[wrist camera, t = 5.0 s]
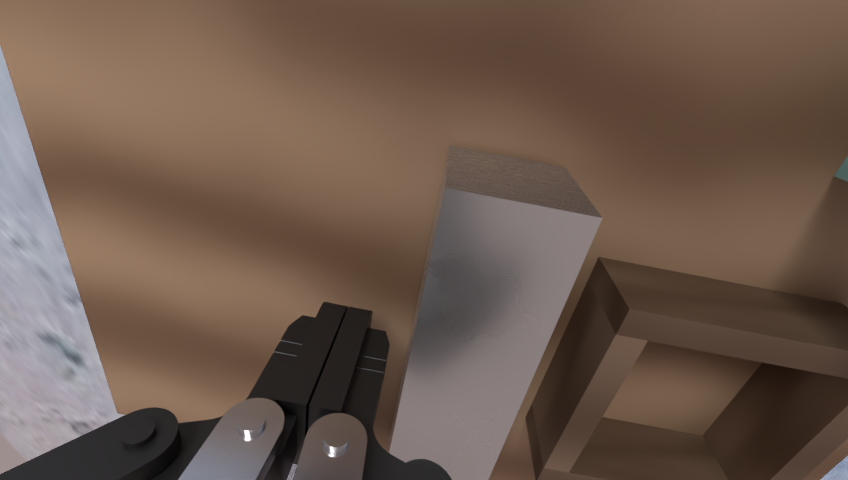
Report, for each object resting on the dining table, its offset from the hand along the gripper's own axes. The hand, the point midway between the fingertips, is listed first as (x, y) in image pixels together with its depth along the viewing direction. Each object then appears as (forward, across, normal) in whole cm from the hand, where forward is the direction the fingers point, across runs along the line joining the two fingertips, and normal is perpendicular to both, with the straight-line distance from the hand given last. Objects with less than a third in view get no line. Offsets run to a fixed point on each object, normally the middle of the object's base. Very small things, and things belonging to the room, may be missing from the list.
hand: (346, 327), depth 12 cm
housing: (+3, -4, -2) cm, 6 cm away
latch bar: (+1, -4, 0) cm, 4 cm away
